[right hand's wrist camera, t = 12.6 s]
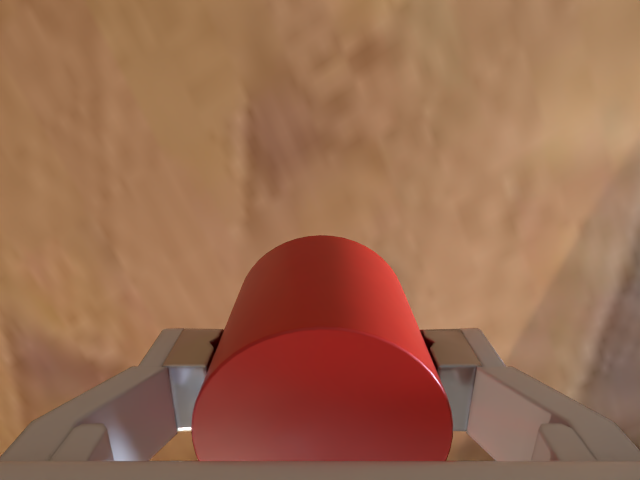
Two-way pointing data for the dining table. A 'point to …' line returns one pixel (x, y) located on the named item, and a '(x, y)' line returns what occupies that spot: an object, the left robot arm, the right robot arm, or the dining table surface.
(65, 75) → the dining table surface
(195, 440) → the can
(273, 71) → the dining table surface
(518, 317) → the dining table surface
